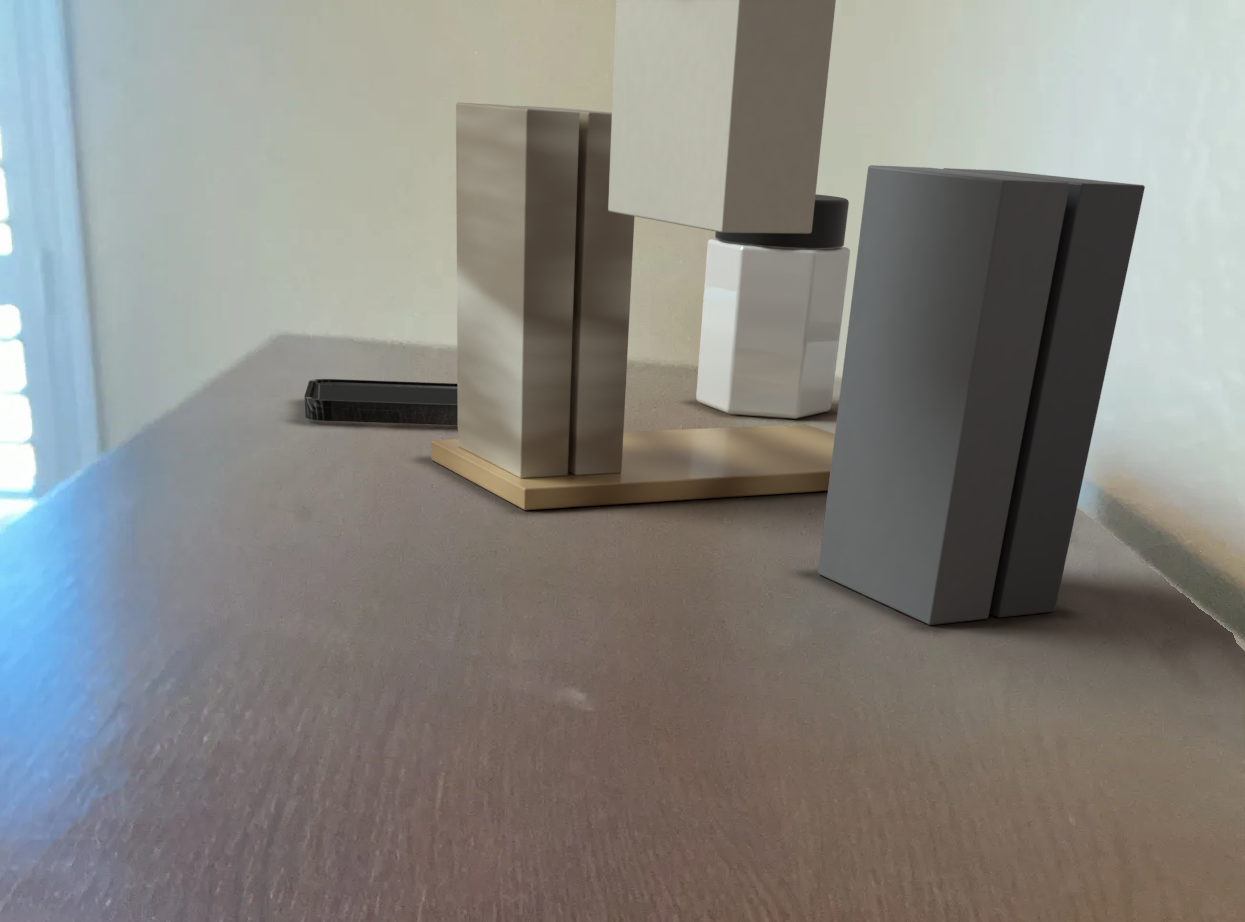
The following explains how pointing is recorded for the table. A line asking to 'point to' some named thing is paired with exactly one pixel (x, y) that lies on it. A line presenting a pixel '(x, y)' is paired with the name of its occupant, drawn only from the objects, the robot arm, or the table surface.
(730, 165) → the tall off-white box
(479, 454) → the book rack
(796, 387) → the jar
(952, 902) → the table surface
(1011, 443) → the grey books
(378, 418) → the phone
